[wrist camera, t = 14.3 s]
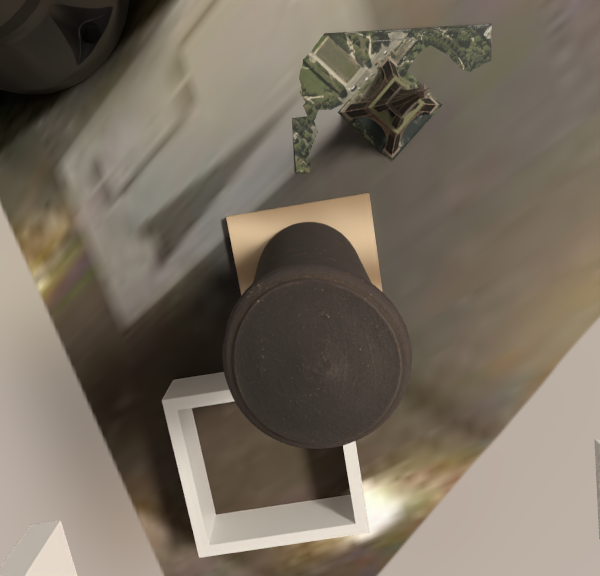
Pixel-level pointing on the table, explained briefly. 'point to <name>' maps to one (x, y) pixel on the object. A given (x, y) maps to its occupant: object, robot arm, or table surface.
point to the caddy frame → (255, 522)
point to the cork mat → (333, 212)
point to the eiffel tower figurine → (379, 82)
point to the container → (315, 343)
